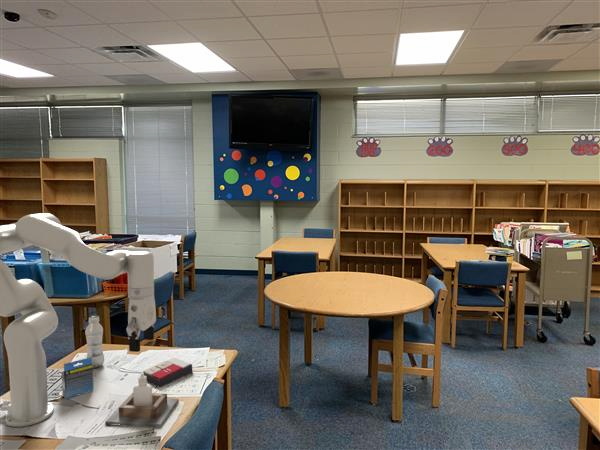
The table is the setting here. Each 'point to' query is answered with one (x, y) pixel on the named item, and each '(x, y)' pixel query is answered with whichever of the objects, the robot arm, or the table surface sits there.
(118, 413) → the stand
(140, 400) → the eye dropper bottle
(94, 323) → the plastic bottle
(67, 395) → the label tape cartridge
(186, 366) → the red and grey box
